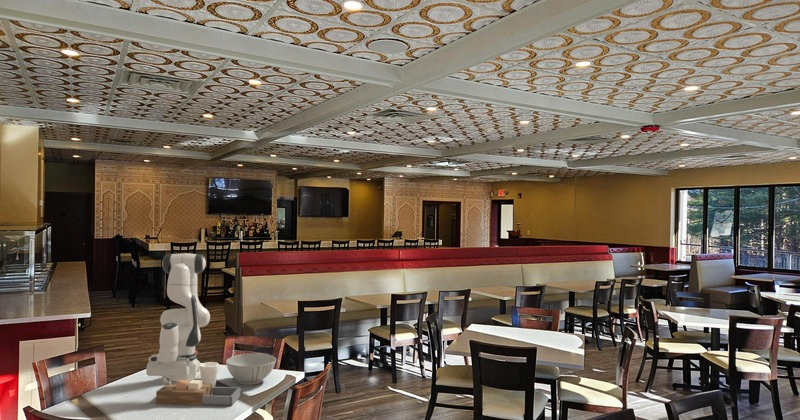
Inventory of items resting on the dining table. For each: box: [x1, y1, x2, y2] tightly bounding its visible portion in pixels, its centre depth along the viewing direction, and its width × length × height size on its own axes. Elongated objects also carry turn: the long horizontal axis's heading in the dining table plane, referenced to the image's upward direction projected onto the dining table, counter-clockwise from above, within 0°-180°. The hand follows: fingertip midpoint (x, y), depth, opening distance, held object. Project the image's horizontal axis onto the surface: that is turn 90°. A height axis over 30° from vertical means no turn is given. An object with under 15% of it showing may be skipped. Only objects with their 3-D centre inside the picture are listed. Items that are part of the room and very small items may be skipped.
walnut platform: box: [155, 382, 212, 406], centre depth 263 cm, size 14×22×6 cm, turn 90°
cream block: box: [188, 379, 202, 390], centre depth 263 cm, size 5×5×3 cm
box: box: [202, 386, 241, 407], centre depth 263 cm, size 14×14×4 cm
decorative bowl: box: [225, 353, 277, 386], centre depth 294 cm, size 27×27×12 cm
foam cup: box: [200, 361, 220, 387], centre depth 279 cm, size 10×9×13 cm
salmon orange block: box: [175, 380, 190, 389], centre depth 263 cm, size 5×5×3 cm
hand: (167, 384), depth 263 cm, fingers closed
